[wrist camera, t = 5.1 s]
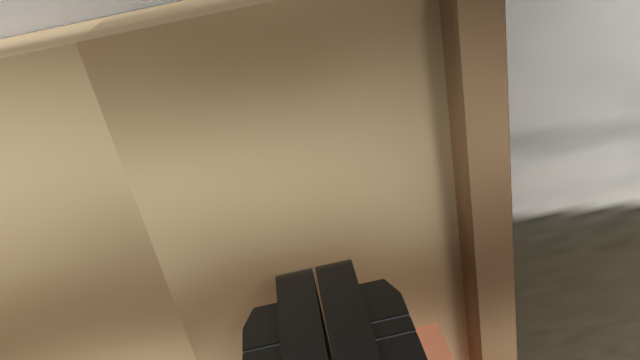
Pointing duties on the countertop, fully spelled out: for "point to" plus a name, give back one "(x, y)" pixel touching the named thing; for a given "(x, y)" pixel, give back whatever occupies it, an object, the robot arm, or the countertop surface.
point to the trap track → (252, 172)
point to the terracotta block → (434, 342)
